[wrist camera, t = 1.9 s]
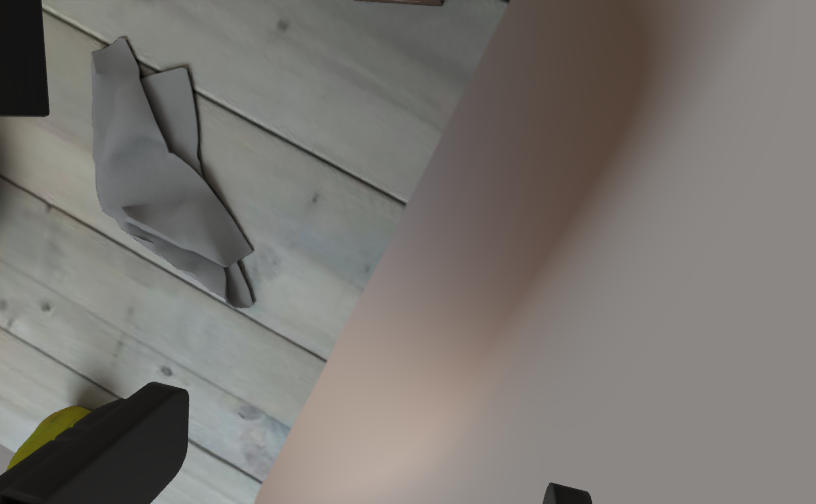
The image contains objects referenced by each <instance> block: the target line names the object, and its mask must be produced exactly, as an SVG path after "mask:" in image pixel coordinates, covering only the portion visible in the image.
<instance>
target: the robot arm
mask: <svg viewBox="0 0 816 504" xmlns="http://www.w3.org/2000/svg"><path fill="white" fill-rule="evenodd" d="M188 419H189V394H188V392H187V390H185V389H182V388H178V387H174V386H170V385H166V384H162V383H158V382H150V383H148V384H147V385H145V386H144V387H142V388H141V389H140V390H138V391H137V392H136V393H134V394H133V395H132V396H130V397H129V398H128V399H123V398H121V399H118V400H116V401H114V402H111V403H109V404H106V405H104V406H101V407H99V408H96V409H94V410H93V411H91V412H90V413H89V414H87V415H86V416H84V417H83V418H81V419H80V420H79V421H77V422H76V423H74V425H73V427H72V428H71V427H69V428H67V429H66V430H64V431H63V432H62V433H60V434H59V435H57V436H56V438H55V440H54V441H53V440H50V441H49V442H47V443H46V444H44V445H43V446H42V447H40V448H39V449H37V450H36V451H34V452H33V453H32V454H30V455H29V456H27V457H26V458H25V459H23V460H22V461H20V462H19V463H17V464H16V465H15V466H13V467H12V468H10V469H9V470H7V471H6V472H5V473H3V474H2V475H1V476H0V504H150V503H151V502H152V501H153V500H154V499H155V498H156V497H157V496H158V495H159V494H160V492H161V491H162V490H163V489H164V488H165V487H166V486H167V485H168V484H169V483H170V482H171V481H172V479H173V478H174V477H175V476H176V475H177V473H178V472H179V470H180V468H181V466H182V464H183V462H184V460H185V457H186V453H187V447H188ZM543 504H592V500H591V497H590V494H589V493H588V492H587V491H583V490H579V489H575V488H571V487H567V486H562V485H559V484H554V483H549V485H548V487H547V490H546V493H545V497H544V500H543Z"/></svg>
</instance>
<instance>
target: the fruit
mask: <svg viewBox="0 0 816 504" xmlns="http://www.w3.org/2000/svg"><path fill="white" fill-rule="evenodd" d="M90 412H91V411H89V410H87V409H85V408H83V407H80V406H70V407H67V408H65V409H62V410H60V411H58V412H55V413H53V414H51V415H50V416H49V417H47V418H46V419H44V420H43V421H42V422H41V423H40V424H39V426H38V427H37V428H36V430H35V431H34V433H33V434H32V435H31V436H30V437H29V438H28V439H27V440H26V441H25V443H24V444H23V445H22V446H21V447H20V448H19V449H18V451H17V452H16V453H15V455H14V456H13V458H12V460H11V461H10V463H9V466H8V468H7V470H9V469H10V468H12V467H13V466H15V465H16V464H17V463H19V462H20V461H22V460H23V459H25V458H26V457H27V456H29V455H30V454H32V453H33V452H34V451H36V450H37V449H39V448H40V447H42V446H43V445H44V444H46V443H47V442H49V441H50V440H53V441H54V440H55V438H56V436H57V435H59V434H60V433H62V432H63V431H64V430H66V429H67V428H69V427H71V428H72V427H73V425H74V423H76V422H77V421H79V420H80V419H81V418H83V417H84V416H86V415H87V414H89V413H90ZM7 470H6V471H7Z"/></svg>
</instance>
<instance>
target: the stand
mask: <svg viewBox="0 0 816 504" xmlns="http://www.w3.org/2000/svg"><path fill="white" fill-rule="evenodd" d="M354 1H367V2H383V3H398V4H414V5H428V6H442V5H443V0H354Z"/></svg>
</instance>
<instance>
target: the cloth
mask: <svg viewBox="0 0 816 504" xmlns="http://www.w3.org/2000/svg"><path fill="white" fill-rule="evenodd" d="M92 90H93V103H92V124H93V159H94V162H95V169H96V189H97V196H98V199H99V202H100V205H101V208H102V211H103V212H104V213H105V214H106V215H108V216H110V217H112V218H114V219H116V221H117V223H118V224H119V226H120V228H121V229H122V230H123V231H125V232H126V233H127V234H129V235H130V236H131V237H133V238H134V239H135V240H137V241H138V242H139V243H141V244H142V245H143V246H145V247H146V248H147V249H149V250H150V251H152V252H154V253H155V254H157V255H158V256H160V257H161V258H163V259H165V260H166V261H168V262H169V263H171V264H172V265H173V266H174V267H176V268H177V269H178V270H180V271H182V272H184V273H185V274H187V275H189V276H191V277H193V278H194V279H196V280H198V281H200V282H201V283H202V284H203V285H204V286H205V287H206V288H207V289H208V290H209V291H211V292H213V293H215V294H217V295H219V296H222V297H224V298H225V300H226V303H227V304H229V305H230V306H231V307H232V308H233V309H234V308H250V307H251V306H252V305H253V301H252V297H251V293H250V290H249V287H248V285H247V283H246V280H245V278H244V276H243V273H242V271H241V269H240V267H239V264H238V262H237V261H239V260H240V259H242V258H244V257H245V256H247V255H249V254H251V253H252V252H253V250H252V249H251V247H250V246H249V244H248V242H247V241H246V239H245V238H244V236H243V234H242V233H241V231H240V229H239V228H238V226H237V225H236V223H235V221H234V220H233V218H232V217H231V216H230V214H229V213H228V212H227V210H226V209H225V207H224V206H223V205H222V203H221V202H220V201H219V199H218V198H217V197H216V195H215V194H214V193H213V191H212V190H211V188H210V187H209V186H208V184H207V183H206V182H205V180H204V178H203V175H202V173H201V166H200V161H199V159H198V158H197V151H198V142H199V138H198V122H197V115H196V108H195V102H194V96H193V90H192V86H191V82H190V78H189V74H188V70H187V69H186V68H183V67H181V68H177V69H173V70H169V71H165V72H162V73H158V74H154V75H151V76H148V77H145V78H141V79H140V68H139V65H138V63H137V61H136V59H135V57H134V55H133V53H132V51H131V49H130V46H129V44H128V42H127V40H126V39H125V38H119V39H118V40H116V41H115V42H114V43H112V44H111V45H110V46H108V47H107V48H105V49H101V50H97V51H93V52H92Z"/></svg>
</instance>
